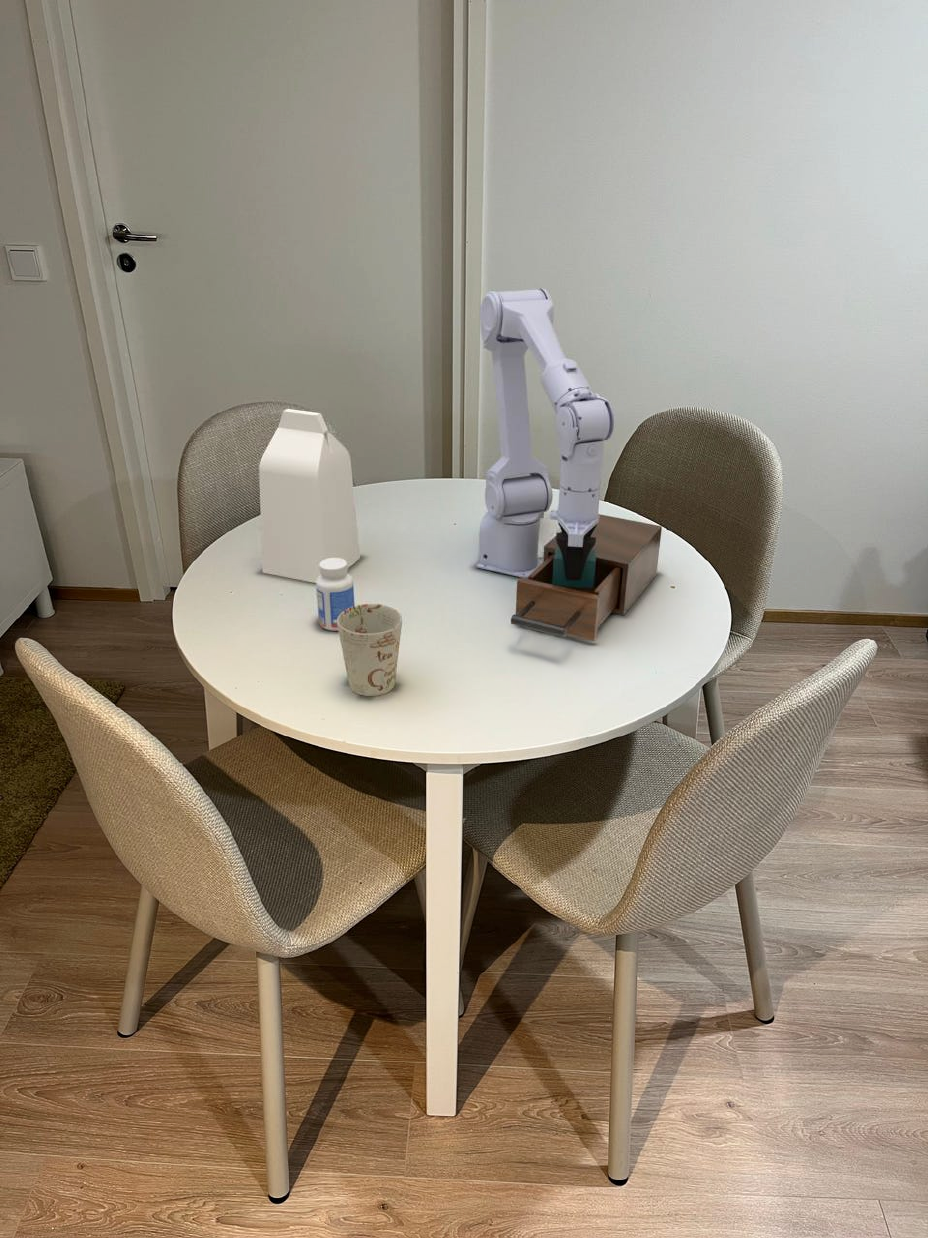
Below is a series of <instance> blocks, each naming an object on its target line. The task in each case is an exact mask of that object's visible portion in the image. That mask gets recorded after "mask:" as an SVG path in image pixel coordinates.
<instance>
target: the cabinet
mask: <svg viewBox="0 0 928 1238" xmlns="http://www.w3.org/2000/svg"><path fill="white" fill-rule="evenodd" d="M598 514H599V522H598V523H597V526H596V528H595V529H594V531H593V533H592V535H591V537H596V543H595V545H594V547H593V548H592V549H591V550H596V562H598V563H603V564H607V565H612V566H617V567H621V568H623V575H622V585H621V595H620V602H619V603H618V605H617V606H616V607H615V608H614V609H613V611H612V612H611V613H610V614H617V615H620V616H625V614H626V613H627V612H628V611H629V609H630V608H631V606H632V605H633V604H634V603H635V602H636V601H637V599H638V598H639V596H641V594H642V593H643V592H644V590H645V589H646V588H647V587H648V585H649V584H650V583H651V582H652V580H653V579H654V578H655V576H656V575H657V574H658V564H659V557H660V556H659V555H660V548H661V539H662V531H663V526H662V525H657V524H653V523H652V524H651V523H647V522H642V521H638V520H632V519H626V518H621V517H616V516H610V515H605V514H601V513H598ZM558 533H562V531H561V530H560V531H559V532H558ZM555 548H559V546H558V544H557V542H556V535H555V536H554V537H552V539H551V540H549V541H548V542H547V543H546V544H545V545H544V546H543V557H542V558H543V562H544V561H545V560H546V559H547V558H548V557H549V556H551V555H552V554H553V553H555Z"/></svg>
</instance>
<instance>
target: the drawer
mask: <svg viewBox="0 0 928 1238" xmlns="http://www.w3.org/2000/svg"><path fill="white" fill-rule="evenodd" d="M554 554H555V553H553V554H552V555H551V556H549V557H548V558H547V559H546V560H545V561H544V562H543V563H542V564H541V565H540V566H539V567H538V568H537V569H536V570H534V571H533V572H532V573H531V574H530V575H529V576H528V578H527V579H526V578H521V577H518V579H516V595H515V596H516V597H515V614H512V615H511V617H510V624H511V625H514V626H518V627H522V628H526V629H530V630H534V631H538V632H542V633H546V634H549V635H553V636H558V637H560V638H561V637H562V638H566V636H571V637H576V638H580V639H584V640H587V641H591V642H595V641H596V640H597V639H598V631H599V627H600V626H601V625H602V624H603V623H604V621H605V620H606V619H608V617H609V615H610V614H612V613H611V612H612V611H613V609H614V608H615V607H616V606H617V605H618V603H619V602H620V595H621V585H622V575H623V568H621V567H617V566H612V565H607V564H603V563H598V562H595V574H594V586H593V588H581V587H567V586H555V585H552V580H553V563H554Z"/></svg>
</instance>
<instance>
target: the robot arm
mask: <svg viewBox="0 0 928 1238" xmlns="http://www.w3.org/2000/svg"><path fill="white" fill-rule="evenodd" d="M554 317H555V307H554V302H553V298H552V296H551V294H550V293H549V291H548V290H547V289H546V288H543V287H541V288H537V289H523V290H507V291H494V290H493V291H492V290H490V291H487V292H486V294H485V295H484V296H483V298H482V301H481V305H480V308H479V322H480V331H481V341H482V347H483V348H484V349H486V350H487V351H489V352H491V359H492V368H493V369H492V370H493V379H494V391H495V404H496V412H497V413H496V414H497V425H498V435H499V437H498V438H499V444H500V458H499V459H498V460H497V461H496V462H495V463H494V464H493V465H492V466H491V467H490V468H489V469H488V470H487V471H486V473H485V490H484V501H485V506H486V509H487V511H486V513H485V514H484V515H483V517H482V519H481V522H480V526H479V533H478V563H477V564H476V567H477V569H482V570H487V571H491V572H496V573H499V574H504V575H508V576H511V577H512V576H513V577H516V578H517V577H518V578H525V579H528V576H529V575H530V574H531V573H532V572H533V571H534V570H536V569H537V568H538V567H539V566H540V565H541V564H542V563H543V558H544V557H540V556H539V542H540V524H541V523H540V522H541V521H540V520H541V519H544V517H545V513H546V512H548V511H549V509H550V507H551V505H552V503H553V498H554V497H553V496H554V495H553V493H554V492H553V487H552V484H551V482H550V478H549V473H548V467H547V465H545V464H544V463H542V462H541V461H540V460H538V459H537V458H535V457H534V456H533V449H532V437H531V425H530V414H529V413H530V411H529V400H528V387H527V377H526V376H527V375H526V364H525V355H526V353H527V351H528V350H529V351H530V352H531V354H532V355H533V357H534V358H535V360H536V362H537V364H538V365H539V366H540V368H541V369H542V371H543V372H542V373H541V377H540V384H541V386H542V388H543V390H544V392H545V394H546V396H547V398H548V400H549V402H550V404H551V407H552V408H553V410H554V411H555V413H556V417H555V418H554V419H555V420H554V422H555V424H554V425H555V431H556V435H557V441H558V442H557V449H558V453H559V454H560V455H561V457H560V458H561V459H560V475H559V490H558V507H557V510H556V509H552V510H550V511H549V520H554V521H557V524H558V526H559V528H560V532H561V531H562V533H559V532H556V535H555V536H556V542H557V544H558V546H559V548H560V551H561V554H562V557H563V564H564V572H565V577H566V580H577V581H580V579H581V577H582V574H583V571H584V567H585V563H586V560H587V557H588V555H589V553H590V551H591V549H592V548H593V547H594V545H595V543H596V537H591V535H592V533H593V531H594V529H595V528H596V526H597V523H598V522H599V514H600V513H599V508H600V496H601V483H602V471H603V461H604V460H603V459H604V450H605V449H604V448H605V447H604V446H605V441H608V440H610V438H611V437H612V435H613V433H614V429H615V417H614V411H613V408H612V405H611V403H610V400H608V398H605V397H603V396H602V397H601V396H600V394H599V393H595V392H594V391H592V388H591V386H590V385H589V382H588V381H587V378H586V377H585V376H584V373H583V371H582V370H581V368H580V367H579V364H578V362H576V361H575V360H574V359H570V358H567V357H566V355H565V353H564V351H563V348H562V345H561V343H560V340H559V338H558V335H557V333H556V330H555V328H554V326H553V325H554ZM519 475H520V476H519ZM521 475H524V476H521ZM513 476H515V477H513Z"/></svg>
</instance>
